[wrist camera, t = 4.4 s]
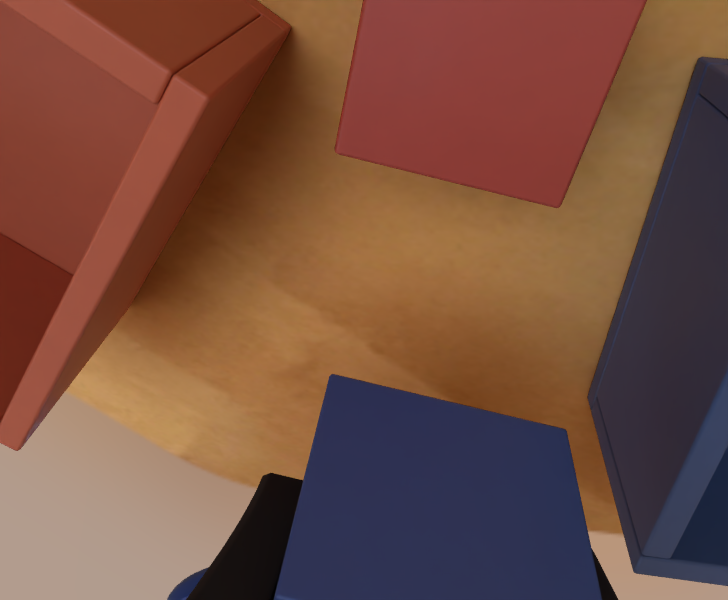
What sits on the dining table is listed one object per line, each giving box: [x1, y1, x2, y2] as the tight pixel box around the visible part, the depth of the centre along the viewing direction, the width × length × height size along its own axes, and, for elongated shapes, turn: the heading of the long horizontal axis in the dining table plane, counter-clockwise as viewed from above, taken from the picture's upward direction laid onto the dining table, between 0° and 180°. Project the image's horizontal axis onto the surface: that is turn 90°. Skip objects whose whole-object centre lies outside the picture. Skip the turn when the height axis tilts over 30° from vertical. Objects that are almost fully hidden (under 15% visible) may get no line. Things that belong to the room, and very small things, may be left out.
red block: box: [335, 0, 647, 208], centre depth 12 cm, size 4×4×4 cm
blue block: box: [274, 374, 602, 600], centre depth 10 cm, size 4×4×4 cm
